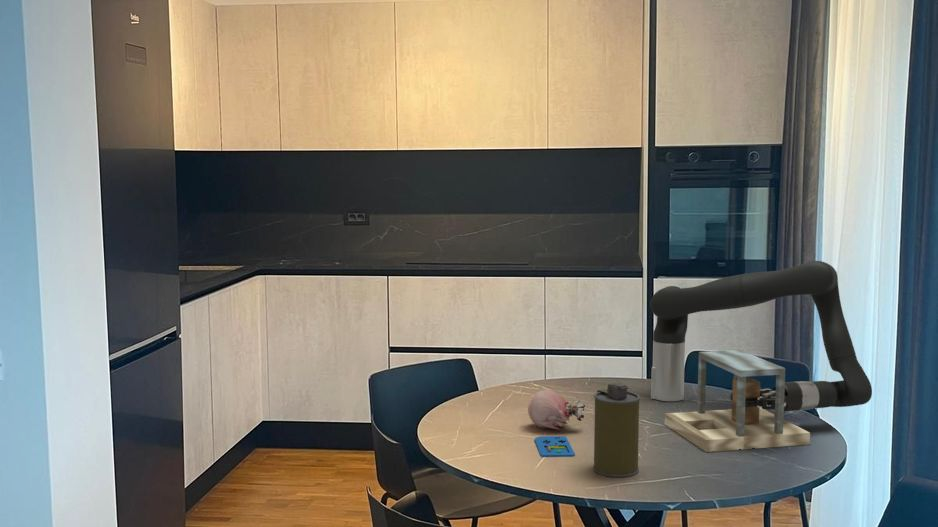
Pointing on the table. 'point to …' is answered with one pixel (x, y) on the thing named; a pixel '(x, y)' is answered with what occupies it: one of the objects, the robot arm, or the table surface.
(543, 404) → the toy
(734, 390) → the walnut block
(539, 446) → the handheld gaming device
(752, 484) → the table surface
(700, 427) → the tunnel deck
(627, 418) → the canister
